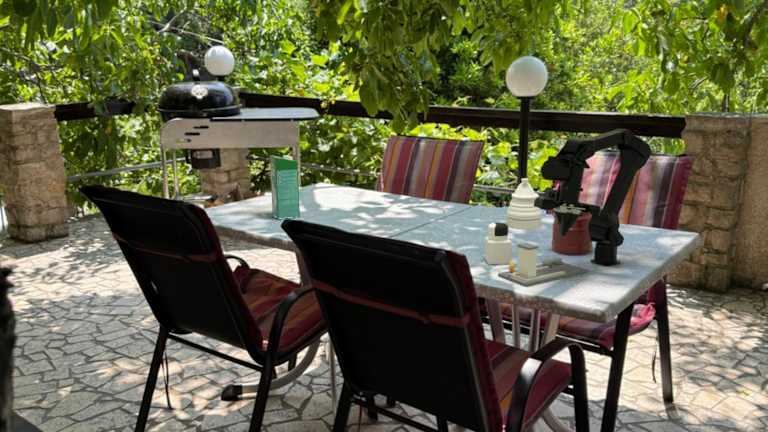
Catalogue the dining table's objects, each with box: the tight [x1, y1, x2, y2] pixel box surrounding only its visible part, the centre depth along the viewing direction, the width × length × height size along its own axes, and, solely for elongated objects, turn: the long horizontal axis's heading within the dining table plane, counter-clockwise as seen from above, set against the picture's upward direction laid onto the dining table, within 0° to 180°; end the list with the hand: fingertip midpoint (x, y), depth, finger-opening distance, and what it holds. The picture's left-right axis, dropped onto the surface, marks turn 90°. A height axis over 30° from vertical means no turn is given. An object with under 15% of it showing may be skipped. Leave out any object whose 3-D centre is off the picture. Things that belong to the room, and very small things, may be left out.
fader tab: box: [516, 242, 539, 279], centre depth 207 cm, size 3×5×10 cm
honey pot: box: [505, 178, 543, 231], centre depth 272 cm, size 13×13×18 cm
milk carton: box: [269, 154, 301, 220], centre depth 292 cm, size 9×9×25 cm
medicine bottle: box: [484, 222, 513, 265], centre depth 227 cm, size 7×7×12 cm
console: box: [497, 257, 589, 288], centre depth 214 cm, size 24×12×4 cm, turn 122°
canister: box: [551, 204, 594, 256], centre depth 237 cm, size 13×13×18 cm
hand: (562, 235), depth 213 cm, fingers closed
